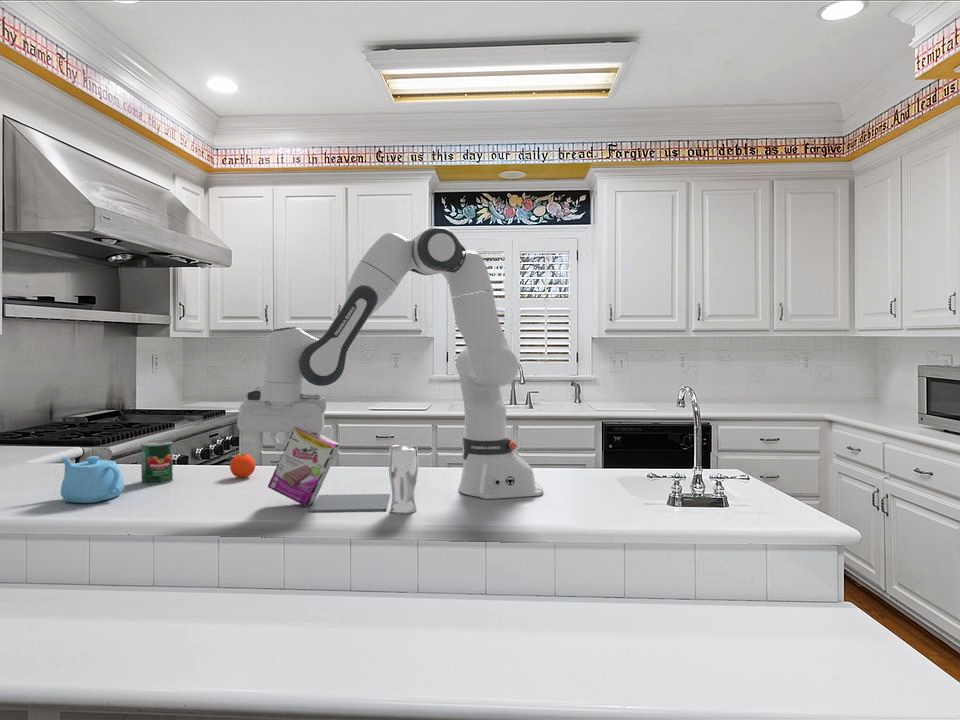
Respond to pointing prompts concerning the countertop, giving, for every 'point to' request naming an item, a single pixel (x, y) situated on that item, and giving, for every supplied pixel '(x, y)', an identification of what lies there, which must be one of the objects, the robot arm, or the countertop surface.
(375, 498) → the grey rubber mat
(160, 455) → the canned tomato
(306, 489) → the candy bar box
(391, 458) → the beer glass
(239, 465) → the clementine
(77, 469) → the teapot
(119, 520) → the countertop surface
